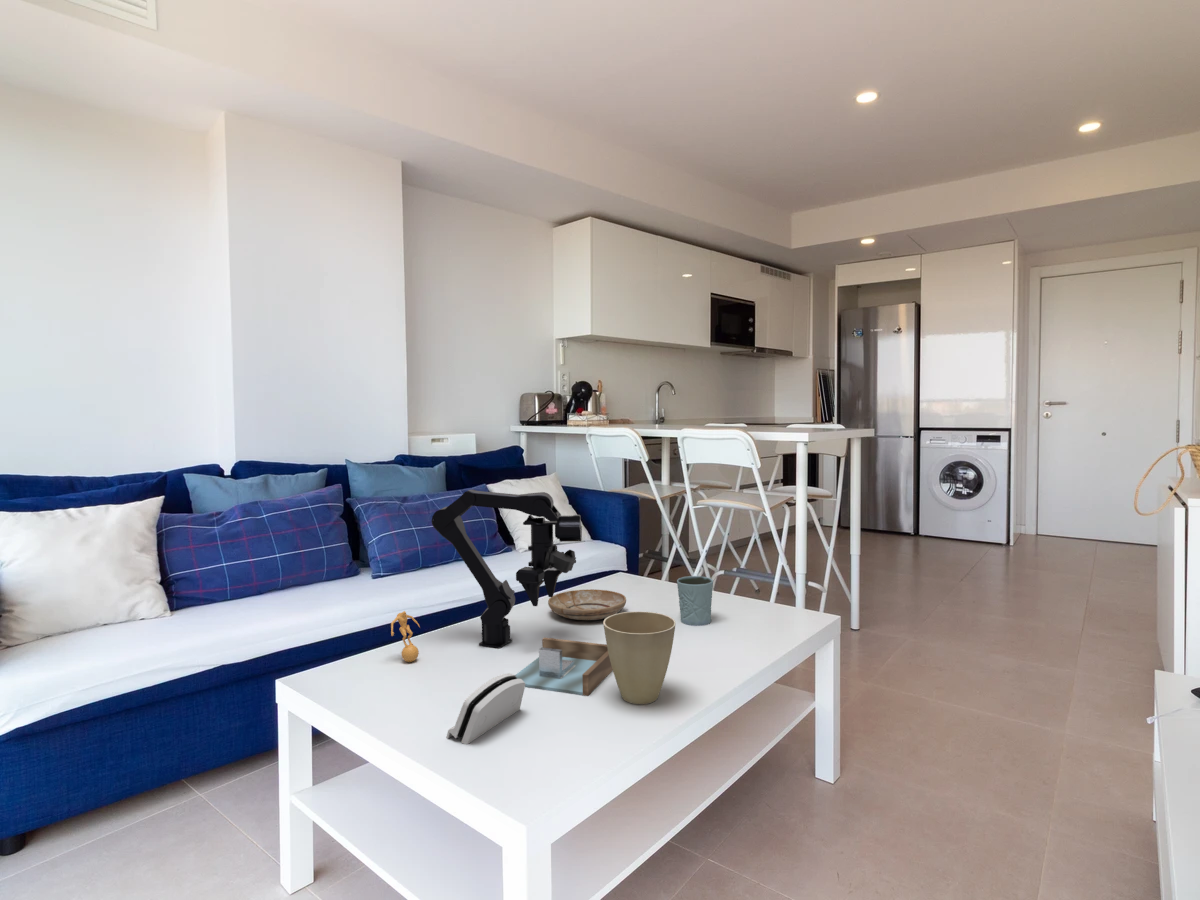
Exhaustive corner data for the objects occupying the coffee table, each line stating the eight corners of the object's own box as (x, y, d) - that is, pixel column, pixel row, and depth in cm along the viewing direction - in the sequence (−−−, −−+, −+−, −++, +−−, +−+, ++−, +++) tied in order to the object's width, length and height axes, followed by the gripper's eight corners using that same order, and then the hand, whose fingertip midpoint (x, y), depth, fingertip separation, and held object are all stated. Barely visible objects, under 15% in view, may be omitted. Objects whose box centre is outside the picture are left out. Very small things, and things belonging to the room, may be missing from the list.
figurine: (401, 668, 155) (400, 617, 155) (385, 663, 159) (384, 613, 158) (429, 657, 162) (428, 609, 162) (413, 653, 166) (411, 605, 165)
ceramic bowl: (599, 600, 214) (599, 584, 214) (641, 618, 194) (641, 601, 194) (535, 611, 202) (534, 595, 201) (572, 631, 182) (572, 613, 181)
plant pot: (589, 699, 136) (588, 623, 136) (633, 678, 148) (632, 607, 147) (648, 720, 127) (647, 638, 126) (690, 695, 138) (689, 619, 138)
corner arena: (506, 684, 145) (506, 664, 145) (544, 655, 163) (544, 637, 163) (588, 695, 138) (587, 675, 138) (618, 664, 156) (618, 645, 156)
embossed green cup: (718, 619, 191) (718, 578, 190) (704, 629, 182) (704, 585, 182) (686, 614, 196) (686, 574, 196) (671, 623, 188) (671, 581, 187)
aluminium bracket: (559, 678, 146) (559, 651, 146) (539, 675, 148) (539, 649, 148) (574, 666, 154) (573, 640, 153) (554, 663, 155) (554, 638, 155)
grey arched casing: (500, 704, 135) (513, 661, 133) (518, 716, 133) (531, 672, 131) (444, 738, 120) (458, 691, 118) (463, 753, 118) (477, 704, 116)
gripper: (555, 550, 159) (556, 614, 160) (584, 537, 177) (585, 595, 177) (514, 547, 163) (515, 610, 164) (546, 535, 181) (547, 591, 181)
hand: (543, 601), depth 171 cm, fingers open, 9 cm apart
